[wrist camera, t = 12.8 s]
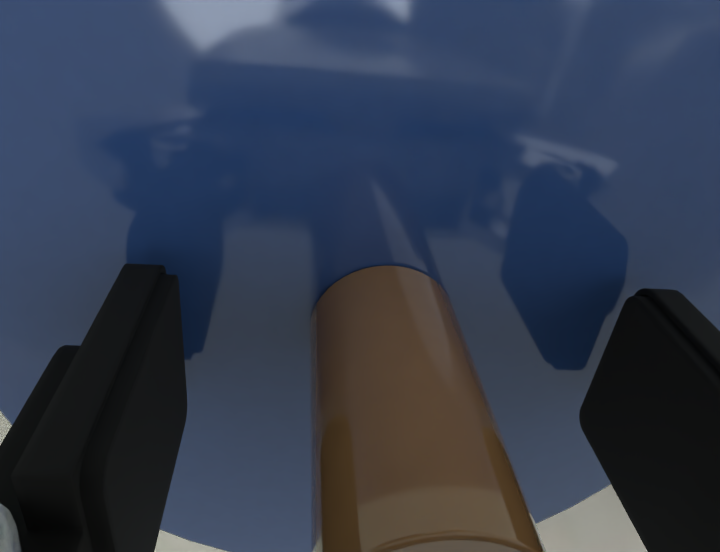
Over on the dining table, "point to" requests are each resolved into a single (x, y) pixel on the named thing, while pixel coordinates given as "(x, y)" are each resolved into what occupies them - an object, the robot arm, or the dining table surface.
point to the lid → (362, 240)
